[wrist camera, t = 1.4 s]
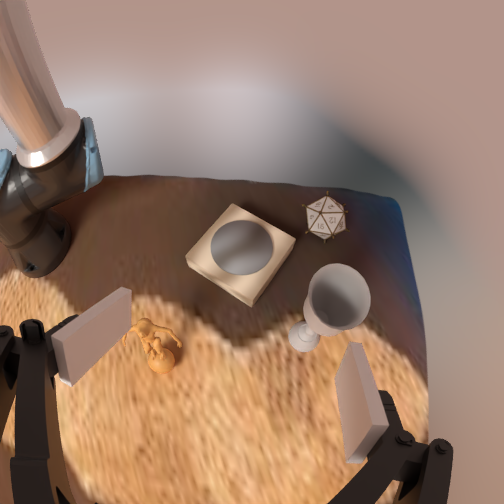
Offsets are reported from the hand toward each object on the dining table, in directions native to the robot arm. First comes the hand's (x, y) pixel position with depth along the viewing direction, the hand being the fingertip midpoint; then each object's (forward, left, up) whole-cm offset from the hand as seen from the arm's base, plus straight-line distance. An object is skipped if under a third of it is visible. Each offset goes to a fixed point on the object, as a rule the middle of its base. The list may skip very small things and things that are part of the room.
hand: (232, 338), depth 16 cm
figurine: (-11, -4, -28) cm, 31 cm away
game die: (-2, +31, -28) cm, 42 cm away
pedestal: (-11, +17, -28) cm, 35 cm away
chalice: (+5, +11, -28) cm, 31 cm away
